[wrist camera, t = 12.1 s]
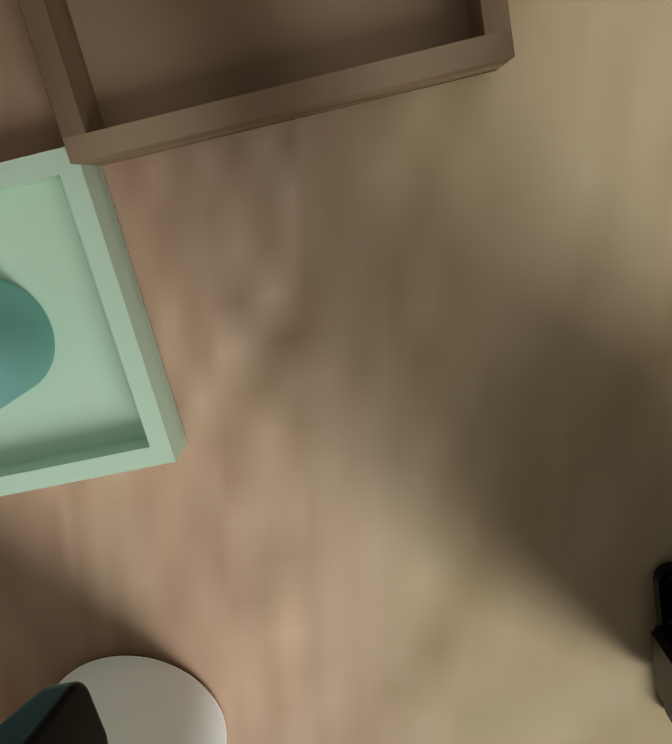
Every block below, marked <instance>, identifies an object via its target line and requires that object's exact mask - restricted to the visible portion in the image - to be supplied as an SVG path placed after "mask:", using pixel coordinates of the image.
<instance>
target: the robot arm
mask: <svg viewBox="0 0 672 744" xmlns="http://www.w3.org/2000/svg"><path fill="white" fill-rule="evenodd" d="M670 577H672V562H667V563H664V564H662V565H660V566H659V567H658V568H657V569H656V570H655V572H654V575H653V583H654V594H655V605H656V616H657V626H654V628H653V630H652V632H651V643H652V654H653V664H654V675H655V685H656V691H657V693H658V694H659V696H660V698H661V699H662V701H663V703H664V704H665V711H666V714H667V716H668V717H669V719H670V721H671V722H672V581H671V582H667V580H668V579H669V578H670ZM0 744H108V740H107V735H106V731H105V729H104V727H103V724H102V722H101V719H100V717H99V714H98V712H97V709H96V707H95V705H94V702H93V700H92V697H91V695H90V692H89V690H88V688H87V687H86V686H85V685H84V684H83V683H82V682H78V681H73V682H68V683H62V684H56V685H51V686H48V687H46V688H44V689H42V690H41V691H40V692H38V693H37V694H36V695H35V696H34V697H32V698H31V699H30V700H29V701H28V702H26V703H25V704H24V705H23V706H22V707H20V708H19V709H18V710H17V711H16V712H14V713H13V714H12V715H11V716H10V717H8V718H7V719H6V720H5V721H4V722H2V723H1V724H0Z"/></svg>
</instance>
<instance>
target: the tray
mask: <svg viewBox="0 0 672 744" xmlns="http://www.w3.org/2000/svg"><path fill="white" fill-rule="evenodd" d="M0 279H3V280H6V281H8V282H11V283H13V284H15V285H17V286H19V287H20V288H22V289H23V290H25V291H26V292H27V293H28V294H30V295H31V296H32V297H33V298H34V299H35V300H36V301H37V302H38V303H39V305H40V306H41V307H42V309H43V310H44V312H45V313H46V315H47V317H48V319H49V321H50V323H51V326H52V330H53V333H54V339H55V353H54V359H53V362H52V365H51V368H50V370H49V371H48V373H47V375H46V376H45V377H44V378H43V380H42V381H41V382H40V383H38V384H37V385H36V386H34V387H33V388H31V389H30V390H28V391H27V392H25V393H24V394H22V395H21V396H19V397H18V398H16V399H15V400H13V401H12V402H10V403H9V404H7V405H6V406H4V407H3V408H1V409H0V496H5V495H10V494H15V493H20V492H25V491H30V490H35V489H40V488H45V487H50V486H55V485H60V484H65V483H70V482H75V481H80V480H85V479H90V478H95V477H100V476H105V475H110V474H115V473H121V472H126V471H131V470H136V469H141V468H146V467H151V466H156V465H161V464H166V463H171V462H176V460H177V458H178V457H179V455H180V453H181V452H182V450H183V449H184V447H185V445H186V444H187V441H186V437H185V434H184V431H183V428H182V425H181V421H180V418H179V415H178V412H177V408H176V405H175V402H174V399H173V396H172V392H171V389H170V386H169V383H168V380H167V376H166V373H165V370H164V367H163V364H162V360H161V357H160V354H159V351H158V348H157V344H156V341H155V338H154V335H153V332H152V328H151V325H150V322H149V319H148V315H147V312H146V309H145V306H144V303H143V299H142V296H141V293H140V290H139V287H138V283H137V280H136V277H135V274H134V271H133V267H132V264H131V261H130V258H129V255H128V251H127V248H126V245H125V242H124V239H123V235H122V232H121V229H120V226H119V222H118V219H117V216H116V213H115V210H114V206H113V203H112V200H111V197H110V194H109V190H108V187H107V184H106V181H105V178H104V174H103V171H102V168H101V166H96V165H78V164H70V161H69V158H68V155H67V152H66V149H65V147H61V148H57V149H53V150H49V151H45V152H41V153H37V154H33V155H29V156H25V157H21V158H17V159H12V160H8V161H4V162H0Z"/></svg>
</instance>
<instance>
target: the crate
mask: <svg viewBox="0 0 672 744" xmlns="http://www.w3.org/2000/svg"><path fill="white" fill-rule="evenodd" d="M17 1H18V4H19V7H20V10H21V13H22V16H23V19H24V22H25V26H26V29H27V32H28V35H29V38H30V41H31V44H32V47H33V50H34V53H35V56H36V59H37V62H38V66H39V69H40V72H41V75H42V78H43V81H44V84H45V87H46V90H47V93H48V96H49V99H50V103H51V106H52V109H53V112H54V115H55V118H56V121H57V124H58V127H59V130H60V133H61V136H62V139H63V143H64V146H65V149H66V152H67V155H68V158H69V161H70V164H78V165H96V166H102V165H106V164H110V163H114V162H118V161H122V160H127V159H131V158H135V157H139V156H143V155H147V154H152V153H156V152H160V151H164V150H168V149H172V148H176V147H181V146H185V145H189V144H193V143H197V142H201V141H205V140H210V139H214V138H218V137H222V136H226V135H230V134H234V133H239V132H243V131H247V130H251V129H255V128H259V127H263V126H268V125H272V124H276V123H280V122H284V121H288V120H292V119H297V118H301V117H305V116H309V115H313V114H317V113H322V112H326V111H330V110H334V109H338V108H342V107H346V106H351V105H355V104H359V103H363V102H367V101H371V100H375V99H380V98H384V97H388V96H392V95H396V94H400V93H404V92H409V91H413V90H417V89H421V88H425V87H429V86H433V85H438V84H442V83H446V82H450V81H454V80H458V79H462V78H467V77H471V76H475V75H479V74H483V73H487V72H492V71H496V70H497V69H498V68H500V67H501V66H503V65H504V64H505V63H507V62H508V61H509V60H511V59H512V58H513V57H515V55H514V47H513V39H512V31H511V24H510V16H509V8H508V0H17Z"/></svg>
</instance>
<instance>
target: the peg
mask: <svg viewBox="0 0 672 744" xmlns="http://www.w3.org/2000/svg"><path fill="white" fill-rule="evenodd" d="M54 353H55V339H54V333H53V330H52V326H51V323H50V321H49V319H48V317H47V315H46V313H45V312H44V310H43V309H42V307H41V306H40V305H39V303H38V302H37V301H36V300H35V299H34V298H33V297H32V296H31V295H30V294H28V293H27V292H26V291H25V290H23V289H22V288H20V287H19V286H17V285H15V284H13V283H11V282H8V281H6V280H3V279H0V409H1V408H3V407H4V406H6V405H7V404H9V403H10V402H12V401H13V400H15V399H16V398H18V397H19V396H21V395H22V394H24V393H25V392H27V391H28V390H30V389H31V388H33V387H34V386H36V385H37V384H38V383H40V382H41V381H42V380H43V378H44V377H45V376H46V375H47V373H48V371H49V370H50V368H51V365H52V362H53V359H54Z"/></svg>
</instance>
